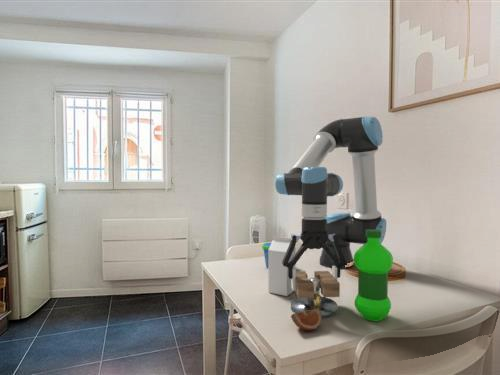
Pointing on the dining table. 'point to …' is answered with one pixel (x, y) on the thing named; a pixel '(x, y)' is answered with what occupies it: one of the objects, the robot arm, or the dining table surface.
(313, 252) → the dining table surface
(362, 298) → the plastic bottle
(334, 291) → the flange block
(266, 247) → the snack cup
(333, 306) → the post base
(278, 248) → the milk carton
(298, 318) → the fruit slice
